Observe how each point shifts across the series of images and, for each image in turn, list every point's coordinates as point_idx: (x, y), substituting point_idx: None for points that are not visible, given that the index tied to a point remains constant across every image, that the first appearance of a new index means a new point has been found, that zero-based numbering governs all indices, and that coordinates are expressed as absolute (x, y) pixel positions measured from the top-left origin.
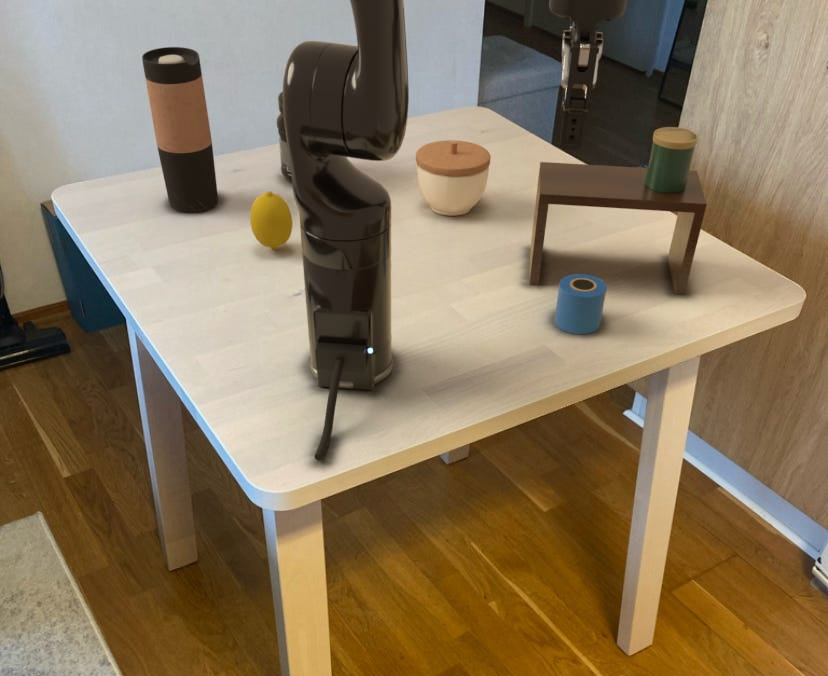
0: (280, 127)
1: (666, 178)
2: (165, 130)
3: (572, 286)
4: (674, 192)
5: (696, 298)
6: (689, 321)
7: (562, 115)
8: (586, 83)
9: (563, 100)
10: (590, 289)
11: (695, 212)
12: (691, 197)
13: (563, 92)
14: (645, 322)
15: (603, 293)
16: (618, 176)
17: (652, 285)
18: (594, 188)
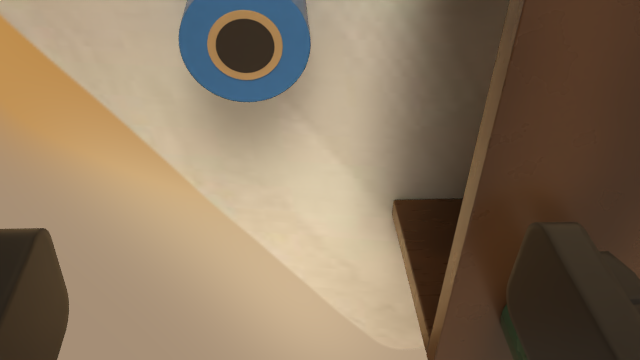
0: None
1: (517, 337)
2: None
3: (228, 17)
4: (501, 326)
5: (379, 230)
6: (290, 214)
7: (544, 242)
8: None
9: (585, 315)
10: (222, 63)
11: (428, 341)
12: (469, 352)
13: (618, 358)
14: (274, 142)
15: (214, 93)
16: (636, 215)
17: (431, 164)
18: (558, 149)
